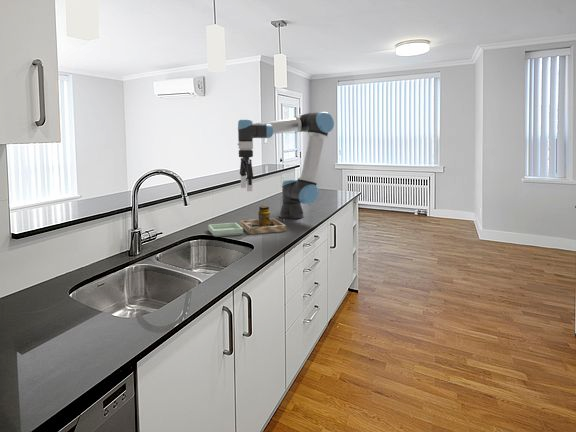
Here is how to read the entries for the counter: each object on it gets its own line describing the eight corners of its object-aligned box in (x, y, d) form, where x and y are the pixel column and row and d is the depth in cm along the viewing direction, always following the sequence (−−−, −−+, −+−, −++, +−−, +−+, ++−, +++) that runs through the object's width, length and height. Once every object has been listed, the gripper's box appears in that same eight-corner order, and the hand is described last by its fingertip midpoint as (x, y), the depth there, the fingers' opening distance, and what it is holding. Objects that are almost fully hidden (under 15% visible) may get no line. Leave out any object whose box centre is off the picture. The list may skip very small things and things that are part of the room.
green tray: (236, 228, 222) (235, 222, 221) (243, 234, 208) (243, 228, 208) (208, 230, 216) (208, 224, 216) (214, 236, 203) (213, 230, 202)
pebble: (249, 226, 226) (249, 222, 226) (252, 227, 224) (252, 223, 224) (244, 227, 224) (244, 223, 224) (247, 228, 222) (247, 224, 222)
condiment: (272, 228, 221) (272, 207, 219) (259, 230, 216) (259, 208, 214) (265, 226, 227) (265, 205, 225) (252, 228, 222) (252, 206, 220)
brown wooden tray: (273, 223, 234) (273, 218, 234) (286, 230, 216) (286, 225, 215) (240, 225, 227) (240, 220, 227) (250, 233, 209) (249, 228, 208)
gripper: (233, 148, 224) (234, 186, 229) (244, 150, 201) (245, 193, 206) (246, 148, 227) (247, 186, 231) (258, 150, 204) (259, 192, 208)
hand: (246, 189), depth 219 cm, fingers open, 13 cm apart
